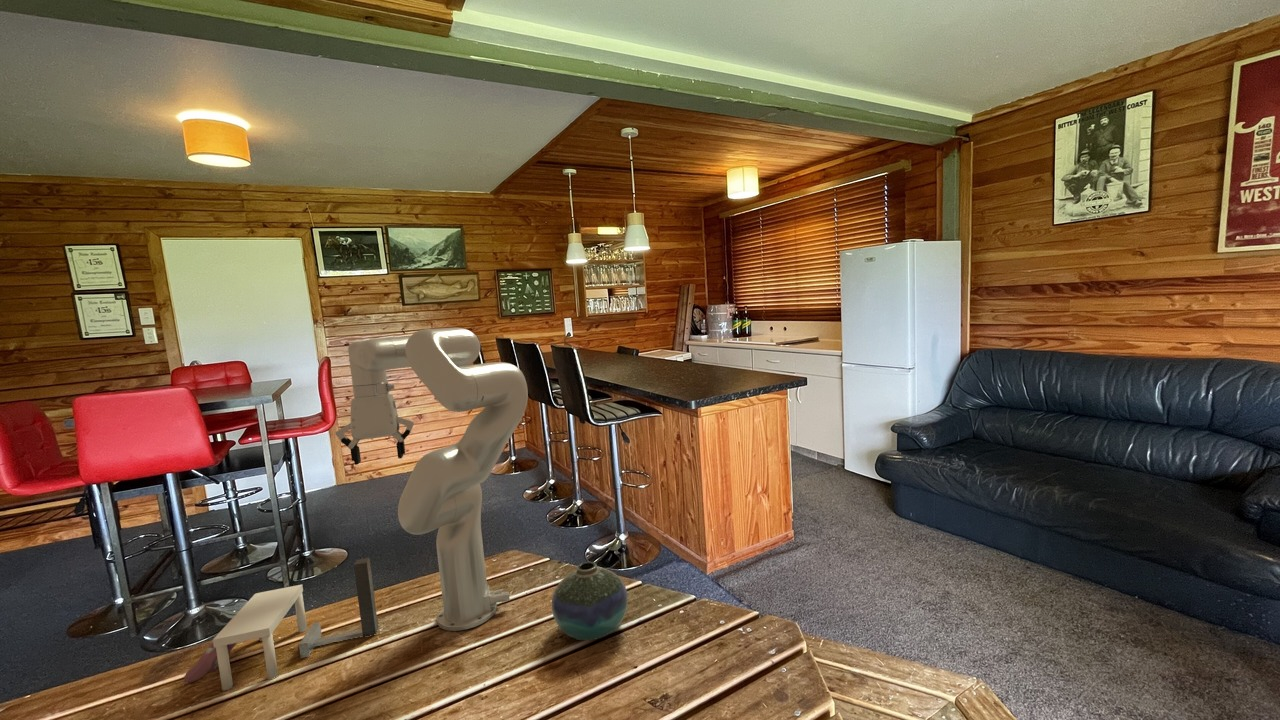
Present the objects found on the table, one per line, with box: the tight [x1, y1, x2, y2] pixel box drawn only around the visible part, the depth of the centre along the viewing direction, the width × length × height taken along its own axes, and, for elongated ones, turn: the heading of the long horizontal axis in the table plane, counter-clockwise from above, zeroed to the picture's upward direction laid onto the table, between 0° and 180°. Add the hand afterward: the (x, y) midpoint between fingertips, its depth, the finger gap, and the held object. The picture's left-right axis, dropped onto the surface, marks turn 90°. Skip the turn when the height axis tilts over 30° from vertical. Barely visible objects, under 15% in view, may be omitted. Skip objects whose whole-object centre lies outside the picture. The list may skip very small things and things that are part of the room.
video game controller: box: [184, 640, 237, 683], centre depth 104 cm, size 10×5×7 cm, turn 11°
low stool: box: [212, 584, 308, 692], centre depth 105 cm, size 9×18×10 cm, turn 16°
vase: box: [551, 561, 629, 641], centre depth 105 cm, size 15×15×13 cm
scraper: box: [298, 557, 379, 659], centre depth 109 cm, size 13×8×16 cm, turn 106°
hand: (379, 460), depth 127 cm, fingers open, 9 cm apart
